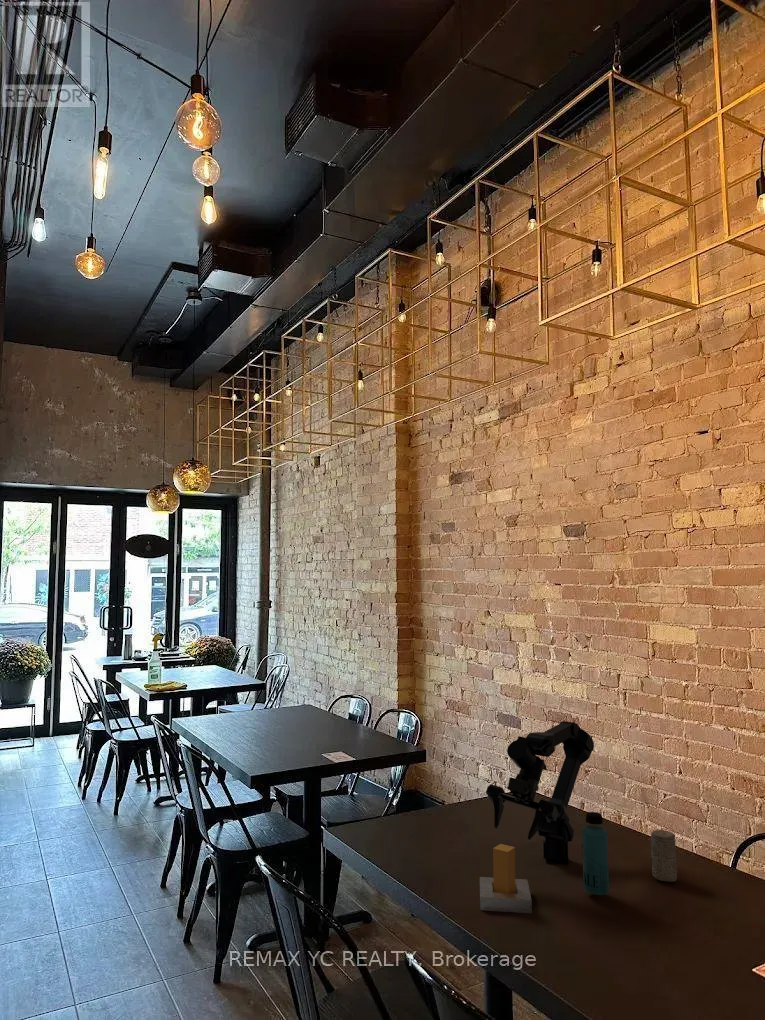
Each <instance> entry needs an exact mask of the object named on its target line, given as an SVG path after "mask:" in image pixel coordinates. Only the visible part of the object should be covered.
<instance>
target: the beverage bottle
mask: <svg viewBox="0 0 765 1020" xmlns="http://www.w3.org/2000/svg"><path fill="white" fill-rule="evenodd" d="M585 822H586V824H587V823H588V825H586V826H584V827H583V828H582V829H581V835H582V837H581V843H582V844H581V847H582V848H581V853H582V854H581V856H582V863H581V864H582V886H583V889H584V891H585V892H587V893H589V894H592V895H597V896H603V895H607V894H608V893H609V891H610V878H609V877H610V874H609V857H608V856H609V854H608V832H607V830H606V829H605V828H604V827H603V826H601V825H602V824H603V822H604V820H603V815H602V813H599V812H595V811H589V812H586V813H585Z"/></svg>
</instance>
